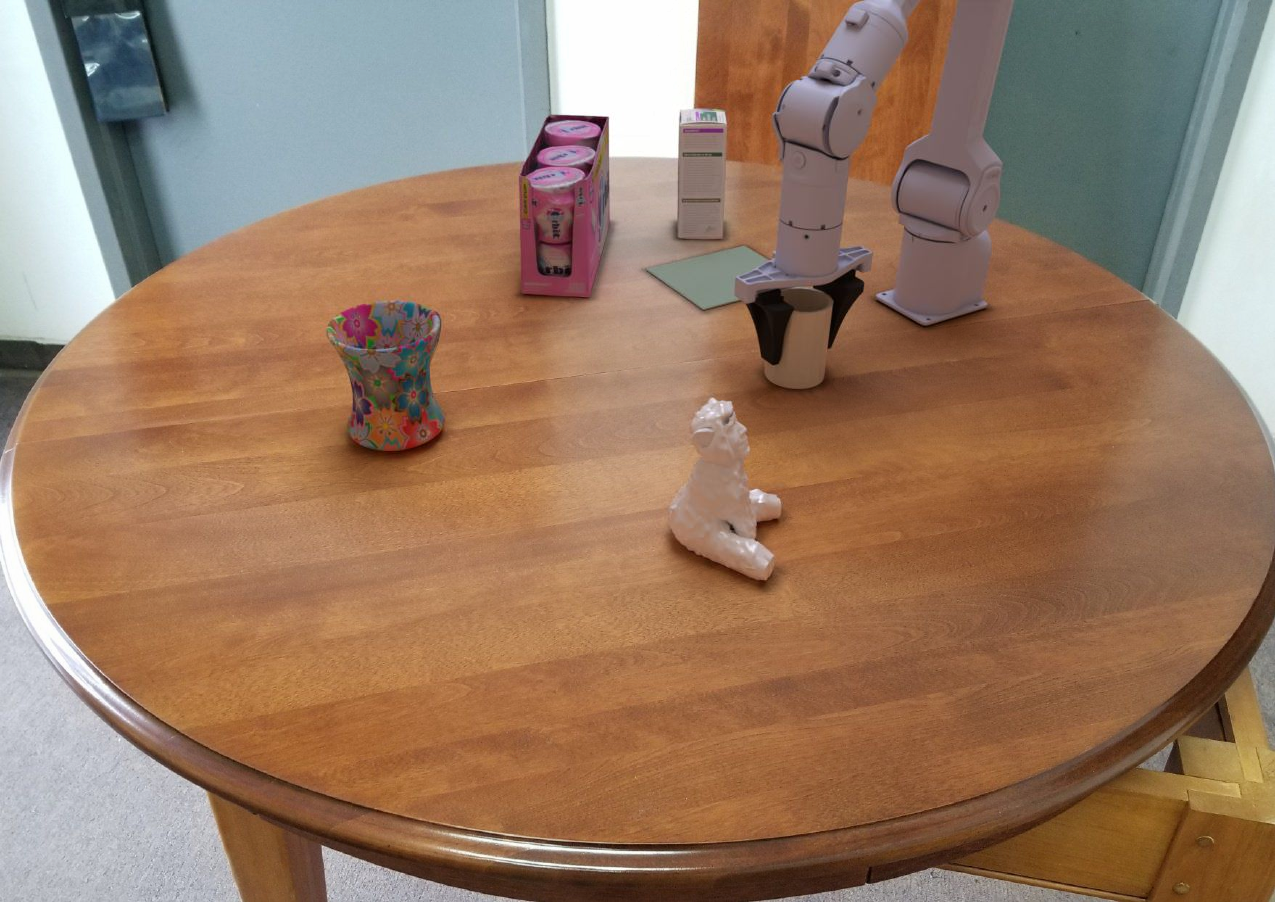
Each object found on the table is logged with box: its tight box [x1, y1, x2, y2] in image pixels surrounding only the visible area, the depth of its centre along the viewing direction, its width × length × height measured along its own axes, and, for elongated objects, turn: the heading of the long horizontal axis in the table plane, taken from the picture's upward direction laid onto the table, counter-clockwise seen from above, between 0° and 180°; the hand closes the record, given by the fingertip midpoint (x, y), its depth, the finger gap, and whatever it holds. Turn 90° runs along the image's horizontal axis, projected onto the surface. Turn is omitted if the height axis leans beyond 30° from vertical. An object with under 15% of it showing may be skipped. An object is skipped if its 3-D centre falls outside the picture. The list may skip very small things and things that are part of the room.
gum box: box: [518, 113, 611, 298], centre depth 123 cm, size 24×8×14 cm, turn 176°
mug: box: [325, 300, 446, 452], centre depth 93 cm, size 12×9×11 cm
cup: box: [763, 286, 834, 390], centre depth 103 cm, size 6×6×8 cm
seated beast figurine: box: [667, 397, 782, 581], centre depth 80 cm, size 10×9×12 cm
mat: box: [645, 245, 769, 311], centre depth 123 cm, size 14×12×1 cm
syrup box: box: [676, 108, 728, 240], centre depth 131 cm, size 6×6×14 cm
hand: (796, 352), depth 103 cm, fingers closed on cup, 6 cm apart
